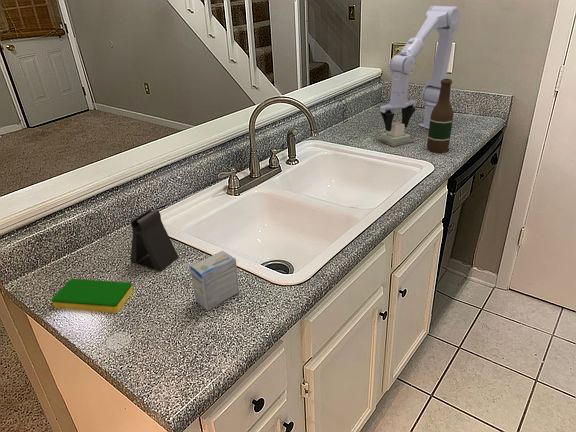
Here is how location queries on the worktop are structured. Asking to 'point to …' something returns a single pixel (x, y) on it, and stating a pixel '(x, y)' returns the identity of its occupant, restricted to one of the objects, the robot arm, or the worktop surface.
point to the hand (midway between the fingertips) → (396, 128)
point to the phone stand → (151, 242)
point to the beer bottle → (441, 120)
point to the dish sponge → (93, 295)
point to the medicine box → (215, 279)
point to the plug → (397, 130)
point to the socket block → (395, 139)
